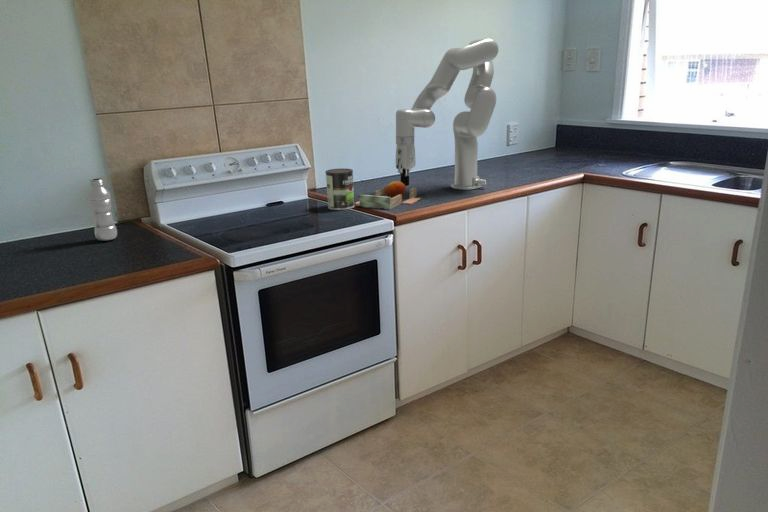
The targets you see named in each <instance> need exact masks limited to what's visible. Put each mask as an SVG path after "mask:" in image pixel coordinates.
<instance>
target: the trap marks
mask: <svg viewBox="0 0 768 512" xmlns="http://www.w3.org/2000/svg"><path fill="white" fill-rule="evenodd" d="M420 199H421V200H422V198H420V197H414V198H410V199H409V198H408V199H406V200H404V201H402V204H404V205H412V204H415V203H417V202H418V200H419V201H421V200H420ZM359 204H360V200H359V201H357V202H354V205H359ZM402 204H401V205H402Z"/></svg>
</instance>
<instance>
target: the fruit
mask: <svg viewBox="0 0 768 512" xmlns="http://www.w3.org/2000/svg"><path fill="white" fill-rule="evenodd" d="M385 187H386V194H387V196H386V197H391V198H393V197H395V196H397V195H402V200H403V199H404V196H405V194H406V187H407V186H405V185H404V184H403V183H402V182H401V181H399V180H398V181H397V180H396V181H395V180H394V181H391V182H390V183H388V184H387V185H386V186H385Z"/></svg>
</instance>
